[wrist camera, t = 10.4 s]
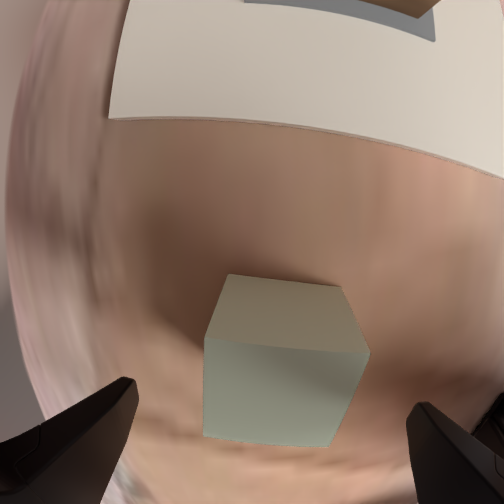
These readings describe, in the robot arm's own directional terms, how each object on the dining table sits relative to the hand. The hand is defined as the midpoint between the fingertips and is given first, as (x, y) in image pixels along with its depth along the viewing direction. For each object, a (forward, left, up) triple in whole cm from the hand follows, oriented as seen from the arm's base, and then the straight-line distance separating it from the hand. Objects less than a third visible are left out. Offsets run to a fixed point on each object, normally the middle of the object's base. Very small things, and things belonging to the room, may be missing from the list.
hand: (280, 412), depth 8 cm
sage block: (0, 0, -5) cm, 5 cm away
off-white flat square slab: (-1, -16, -5) cm, 17 cm away
